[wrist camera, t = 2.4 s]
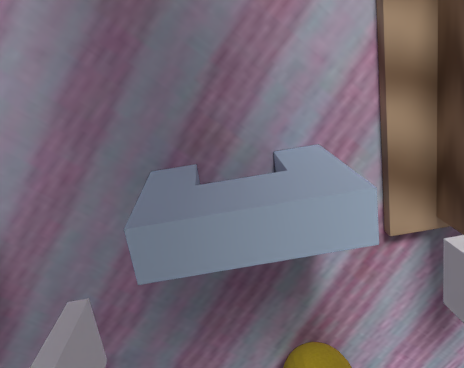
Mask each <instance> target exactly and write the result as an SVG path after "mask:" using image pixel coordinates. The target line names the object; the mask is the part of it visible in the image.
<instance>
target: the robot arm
mask: <svg viewBox="0 0 464 368" xmlns="http://www.w3.org/2000/svg"><path fill="white" fill-rule="evenodd" d="M443 303H444V304H445V305H446V306H447V307H448V308H449V309H450V310H451V311H452V312H453V313H454V314H455V315H456V316H457V317H458V318H459V319H460V320H461V321H462V322H463V323H464V235H461V236H455V237H449V238H444V243H443ZM106 363H107V358H106V355H105V351H104V348H103V344H102V341H101V338H100V334H99V331H98V328H97V324H96V321H95V317H94V314H93V311H92V307H91V304H90V301H89V298H88V299H82V300H76V301H70V302H67V304H66V306H65V308H64V309H63V311H62V313H61V315H60V316H59V318H58V320H57V321H56V323H55V325H54V327H53V328H52V330H51V332H50V334H49V335H48V337H47V339H46V341H45V342H44V344H43V346H42V348H41V349H40V351H39V353H38V354H37V356H36V358H35V360H34V361H33V363H32V365H31V367H30V368H105V366H106Z"/></svg>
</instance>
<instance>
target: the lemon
mask: <svg viewBox="0 0 464 368" xmlns="http://www.w3.org/2000/svg"><path fill="white" fill-rule="evenodd" d="M283 368H351V366H350V364H349V362H348V361H347V360H346V359H345V357H344V356H343V355H342V354H341V353H340V352H339V351H338V350H336V349H335V348H333V347H331V346H330V345H327V344H324V343H320V342H309V343H305V344H302V345H300V346H298V347H297V348H295V349H294V350H293V351H292V352H291V353H290V354H289V356H288V358H287V359H286V361H285V364H284V367H283Z"/></svg>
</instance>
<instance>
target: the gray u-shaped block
mask: <svg viewBox="0 0 464 368" xmlns="http://www.w3.org/2000/svg"><path fill="white" fill-rule="evenodd" d="M273 153H274V161H275V169H276V172H275V173H268V174H262V175H256V176H250V177H244V178H238V179H232V180H226V181H220V182H214V183H208V184H201V185H200V180H199V175H198V169H197V164H194V165H188V166H182V167H176V168H170V169H164V170H157V171H151V172H150V174H149V177H148V179H147V181H146V183H145V185H144V187H143V189H142V192H141V194H140V196H139V198H138V200H137V202H136V204H135V206H134V209H133V211H132V213H131V215H130V217H129V219H128V221H127V224H126V226H125V228H124V232H125V236H126V240H127V244H128V248H129V252H130V256H131V260H132V264H133V268H134V271H135V275H136V279H137V283H138V285H142V284H148V283H154V282H160V281H165V280H171V279H177V278H183V277H189V276H195V275H201V274H207V273H213V272H219V271H225V270H231V269H237V268H243V267H249V266H254V265H260V264H266V263H272V262H278V261H284V260H290V259H296V258H302V257H308V256H314V255H320V254H326V253H332V252H338V251H343V250H349V249H355V248H361V247H367V246H373V245H379V231H378V207H377V187H375V186H374V185H373V184H371V183H370V182H369V181H367V180H366V179H365V178H363V177H362V176H361V175H359V174H358V173H357V172H355V171H354V170H353V169H351V168H350V167H349V166H347V165H346V164H344V163H343V162H342V161H340V160H339V159H338V158H336V157H335V156H334V155H332V154H331V153H330V152H328V151H327V150H326V149H324V148H323V147H322V146H320V145H319V144H317V145H311V146H304V147H298V148H292V149H286V150H280V151H274V152H273Z"/></svg>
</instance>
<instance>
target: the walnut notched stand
mask: <svg viewBox="0 0 464 368" xmlns="http://www.w3.org/2000/svg"><path fill="white" fill-rule="evenodd" d="M376 3H377V31H378V59H379V88H380V116H381V144H382V173H383V201H384V229H385V232H386V233H387V234H388V235H389V236H396V235H402V234H407V233H413V232H419V231H425V230H431V229H437V228H443V227H449V226H451V227H453V228H454V229H456V230H457V231H459V232H460V233H462V234H463V235H464V0H376Z"/></svg>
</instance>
